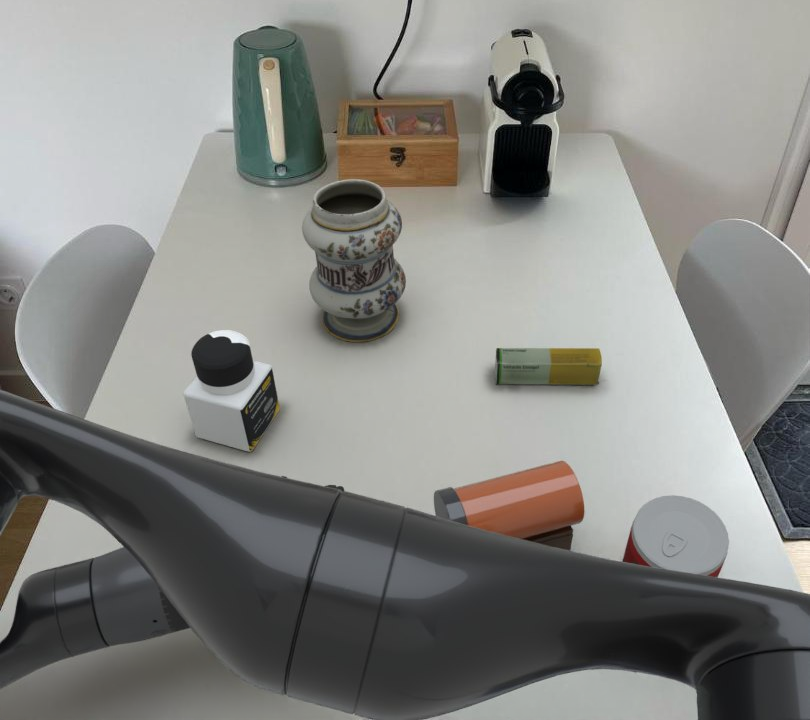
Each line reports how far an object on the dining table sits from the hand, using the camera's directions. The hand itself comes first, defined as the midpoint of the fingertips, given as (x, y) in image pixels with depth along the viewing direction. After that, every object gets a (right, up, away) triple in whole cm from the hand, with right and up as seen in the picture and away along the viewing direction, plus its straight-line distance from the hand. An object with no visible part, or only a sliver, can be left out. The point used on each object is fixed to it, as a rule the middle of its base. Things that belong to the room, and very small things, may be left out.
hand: (357, 534), depth 68 cm
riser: (+15, -4, +10) cm, 19 cm away
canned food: (+27, -8, +6) cm, 29 cm away
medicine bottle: (-15, +7, +24) cm, 29 cm away
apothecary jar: (-2, +20, +37) cm, 42 cm away
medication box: (+21, +12, +27) cm, 36 cm away
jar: (+13, -1, +6) cm, 15 cm away
